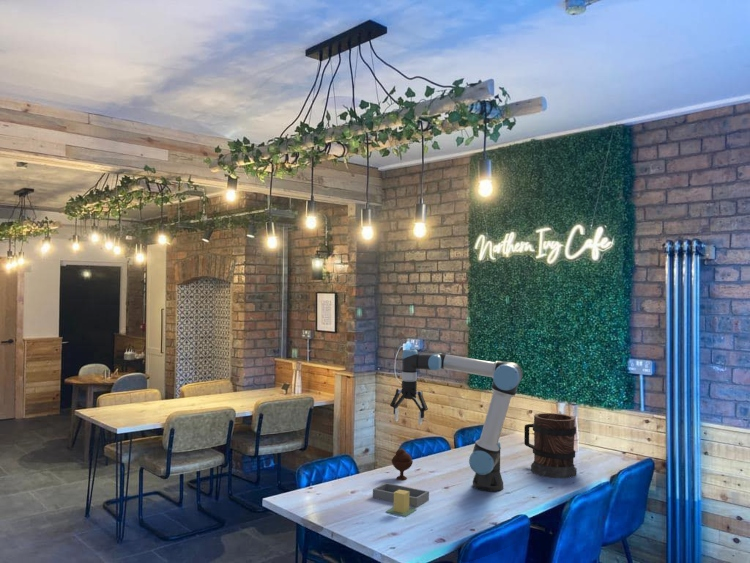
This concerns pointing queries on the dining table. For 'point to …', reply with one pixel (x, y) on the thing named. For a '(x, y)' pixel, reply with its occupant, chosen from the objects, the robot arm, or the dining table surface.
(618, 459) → the dining table surface
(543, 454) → the wooden beer tankard
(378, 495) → the charcoal bin
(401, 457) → the ice cream bowl
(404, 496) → the mustard block
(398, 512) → the green pad
